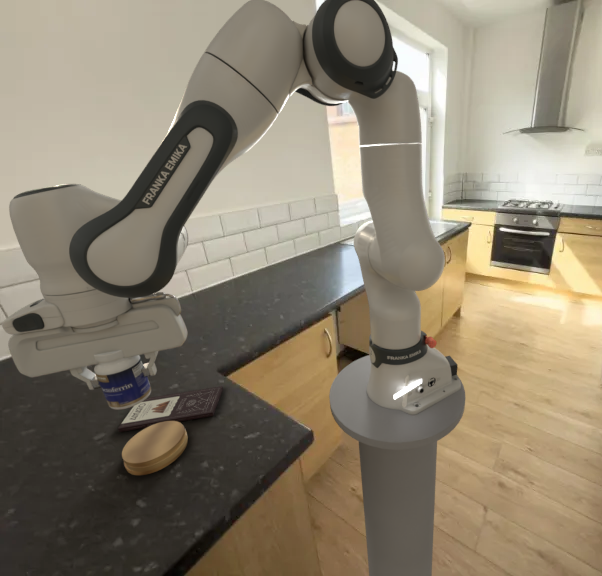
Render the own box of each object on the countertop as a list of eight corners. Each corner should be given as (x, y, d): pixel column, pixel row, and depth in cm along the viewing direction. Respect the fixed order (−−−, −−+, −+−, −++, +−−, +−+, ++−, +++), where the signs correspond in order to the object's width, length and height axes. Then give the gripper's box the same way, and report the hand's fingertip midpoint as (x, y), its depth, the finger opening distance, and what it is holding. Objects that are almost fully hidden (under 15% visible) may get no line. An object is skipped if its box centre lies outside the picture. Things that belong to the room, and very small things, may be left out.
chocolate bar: (212, 412, 69) (117, 428, 65) (213, 415, 69) (119, 432, 66) (222, 386, 77) (138, 399, 73) (223, 389, 77) (140, 402, 74)
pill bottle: (101, 414, 49) (77, 359, 45) (120, 390, 54) (99, 340, 51) (143, 407, 50) (123, 353, 47) (158, 384, 56) (140, 334, 52)
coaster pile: (192, 424, 67) (188, 413, 66) (185, 463, 58) (181, 451, 57) (134, 441, 63) (129, 429, 62) (117, 485, 55) (111, 473, 53)
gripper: (178, 283, 52) (199, 354, 58) (13, 307, 45) (54, 386, 50) (171, 296, 47) (195, 373, 52) (-17, 326, 40) (32, 413, 45)
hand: (124, 380), depth 51 cm, fingers closed on pill bottle, 6 cm apart
